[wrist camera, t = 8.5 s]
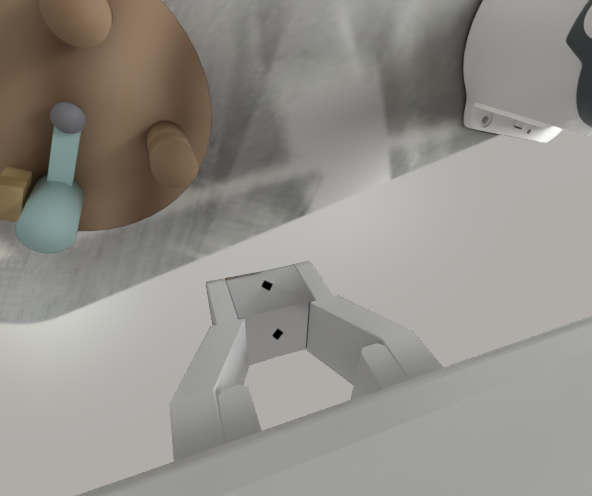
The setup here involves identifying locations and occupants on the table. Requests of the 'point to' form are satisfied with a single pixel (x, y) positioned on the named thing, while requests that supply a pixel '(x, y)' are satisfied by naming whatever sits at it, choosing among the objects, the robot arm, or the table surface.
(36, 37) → the stool seat
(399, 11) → the table surface
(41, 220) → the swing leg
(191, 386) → the robot arm
